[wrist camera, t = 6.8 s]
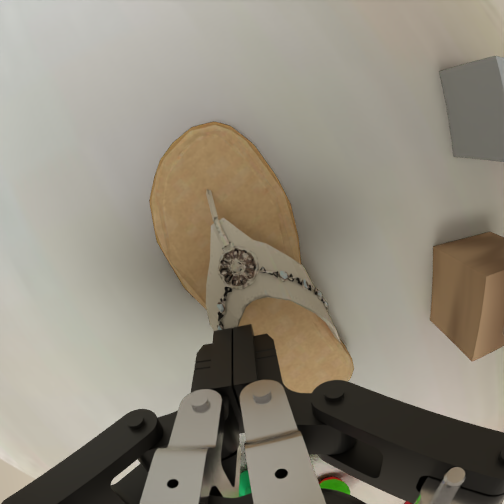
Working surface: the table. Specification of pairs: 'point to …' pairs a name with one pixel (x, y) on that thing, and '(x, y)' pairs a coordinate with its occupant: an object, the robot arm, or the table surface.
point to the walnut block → (470, 293)
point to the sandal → (243, 251)
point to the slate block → (476, 108)
